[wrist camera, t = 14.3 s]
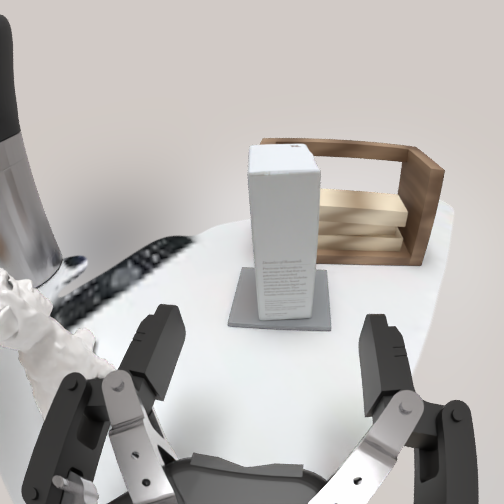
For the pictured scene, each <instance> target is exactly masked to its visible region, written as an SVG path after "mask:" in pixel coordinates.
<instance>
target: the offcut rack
mask: <svg viewBox="0 0 504 504" xmlns="http://www.w3.org/2000/svg"><path fill="white" fill-rule="evenodd" d="M265 144H305V145H306V146H307V148H308V149H309V151H310V152H311V153H312V154H313V156H330V157H350V158H364V159H376V160H388V161H398V162H402V168H401V175H400V182H399V189H398V195H399V197H400V199H401V200H402V202H403V204H404V206H405V208H406V209H407V211H408V215H407V220H406V225H405V227H398V226H397V227H398V229H399V231H400V233H401V235H402V237H403V241H402V245H401V249H400V252H396V251H363V250H329V249H317V259H316V263H323V264H363V265H411V266H421V264H422V261H423V258H424V255H425V251H426V248H427V245H428V241H429V238H430V234H431V230H432V227H433V223H434V219H435V215H436V211H437V207H438V202H439V197H440V193H441V188H442V183H443V178H444V173H445V170H444V169H443V168H441V167H440V166H439V165H438V164H437V163H435V162H434V161H433V160H432V159H430V158H429V157H428V156H427V155H425V154H424V153H423V152H422V151H421V150H419V149H418V148H417V147H412V146H404V145H395V144H387V143H377V142H365V141H352V140H335V139H334V140H333V139H308V138H307V139H306V138H263V139H262V141H261V143H260V145H265Z"/></svg>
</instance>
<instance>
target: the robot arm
mask: <svg viewBox="0 0 504 504" xmlns="http://www.w3.org/2000/svg"><path fill="white" fill-rule="evenodd" d="M20 131H21V130H20V125H19V119H18V111H17V102H16V95H15V87H14V73H13V41H12V32H11V27H10V24H9V22H8V20H7V19H6V17H4V16H3V15H0V268H4V270H6V271H7V272H8V274H9V275H10V276H12V277H13V278H14V279H15V280H24V279H30V280H32V282H33V288H36V287H38V286H39V285H41V284H42V283H44V282H45V281H46V280H48V279H49V278H50V277H51V276H52V275H53V274H54V273H55V272H56V270H57V269H58V268H59V266H60V264H61V261H62V254H61V252H60V250H59V247H58V245H57V242H56V240H55V238H54V235H53V233H52V230H51V227H50V225H49V222H48V220H47V217H46V214H45V211H44V209H43V206H42V203H41V200H40V197H39V194H38V191H37V188H36V185H35V182H34V179H33V175H32V172H31V169H30V165H29V162H28V158H27V155H26V151H25V147H24V143H23V138H22V134H21V132H20ZM185 335H186V331H185V326H184V323H183V320H182V317H181V314H180V311H179V308H178V306H176V305H166V304H160V305H159V306H158V308H157V310H156V312H155V314H154V315H150V314H149V315H148V316H147V317H146V318H145V319H144V320H143V321H142V322H141V323H140V325H139V327H138V329H137V331H136V333H135V335H134V337H133V341H131V344H130V346H129V348H128V350H127V352H126V354H125V356H124V358H123V360H122V362H121V364H120V367H119V368H118V370H115V371H112V372H110V373H109V374H107V375H106V376H105V378H102V379H86V378H85V377H84V376H83V375H82V374H80V373H78V372H73V373H70V374H68V375H66V376H65V377H64V378H63V380H62V381H61V384H60V386H59V388H58V390H57V392H56V395H55V397H54V399H53V402H52V404H51V406H50V409H49V411H48V413H47V416H46V418H45V421H44V423H43V426H42V429H41V431H40V434H39V436H38V439H37V442H36V445H35V447H34V450H33V453H32V456H31V459H30V462H29V465H28V468H27V471H26V475H25V478H24V481H23V485H22V497H23V499H24V501H25V503H26V504H98V502H97V500H98V499H99V495H98V493H97V489H96V487H95V485H94V484H93V480H94V476H95V473H96V469H97V466H98V462H99V459H100V455H101V452H102V449H103V445H104V442H105V439H106V436H107V432H108V429H109V426H110V423H111V426H112V429H111V430H109V437H110V441H111V444H112V447H113V450H114V453H115V456H116V459H117V462H118V465H119V468H120V471H121V473H122V476H123V479H124V481H125V484H126V487H127V489H128V491H127V492H126V493H124V494H122V495H121V496H119V497H118V498H116V499H114V500H113V501H111V502H109V503H108V504H366V503H367V502H368V500H369V499H370V498H371V497H372V495H373V494H374V493H375V492H376V490H377V489H378V488H379V486H380V485H381V484H382V482H383V481H384V480H385V478H386V477H387V475H388V474H389V473H390V471H391V470H392V468H393V467H394V465H395V463H396V461H397V456H398V454H399V453H400V451H401V449H402V448H403V446H407V447H412V448H414V459H415V460H414V463H415V464H414V465H415V478H414V504H478V469H477V455H476V445H475V438H474V429H473V423H472V417H471V411H470V409H469V407H468V406H467V405H466V403H464V402H462V401H460V400H453V401H450V402H449V403H447V404H446V405H445V406H444V405H438V404H433V403H429V402H426V401H424V400H422V398H421V397H420V396H419V395H418V394H417V393H416V392H415V389H414V386H413V381H412V376H411V371H410V366H409V362H408V357H407V353H406V349H405V344H404V340H403V336H402V335H401V333H400V332H399V331H398V329H397V328H396V326H391V327H388V324H387V320H386V316H385V315H384V314H367V315H366V318H365V321H364V325H363V328H362V331H361V334H360V338H359V357H360V366H361V376H362V386H363V398H364V412H365V417H372V418H373V425H372V426H371V427H370V429H369V430H368V432H367V433H366V434H365V436H364V437H363V438H362V440H361V441H360V442H359V444H358V445H357V446H356V447H355V449H354V450H353V451H352V452H351V454H350V455H349V456H348V457H347V459H346V460H345V461H344V462H343V463H342V464H341V465H340V467H339V468H338V469H337V470H336V471H335V472H334V473H333V475H332V476H331V477H330V478H329V479H328V480H327V481H326V480H325V479H324V478H322V477H321V476H319V475H318V474H316V473H314V472H311V471H308V470H305V469H303V465H298V464H269V465H262V466H255V467H243V466H240V465H237V464H235V463H232V462H229V461H227V460H224V459H222V458H219V457H214V456H208V455H202V454H197V453H193V455H192V458H183V459H180V460H179V459H178V457H177V455H176V453H175V451H174V450H173V448H172V447H171V445H170V444H169V442H168V440H167V438H166V436H165V434H164V431H163V429H162V427H161V424H160V422H159V419H158V417H157V415H156V412H155V410H154V407H153V404H154V401H155V399H156V400H160V401H164V398H165V395H166V392H167V389H168V386H169V383H170V381H171V378H172V375H173V372H174V369H175V366H176V363H177V360H178V358H179V355H180V352H181V349H182V346H183V344H184V341H185Z"/></svg>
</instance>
